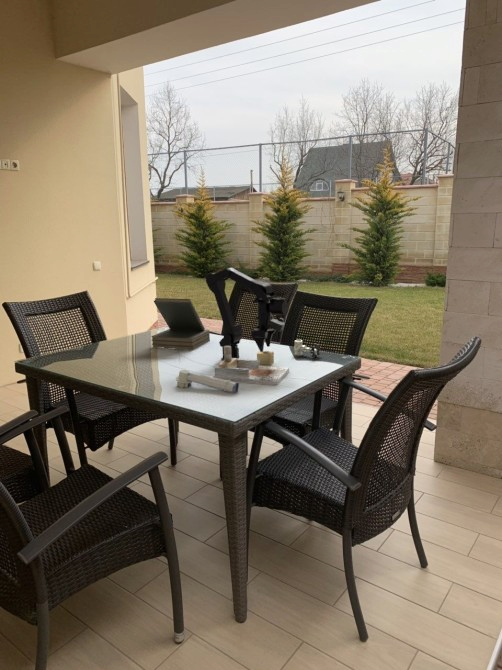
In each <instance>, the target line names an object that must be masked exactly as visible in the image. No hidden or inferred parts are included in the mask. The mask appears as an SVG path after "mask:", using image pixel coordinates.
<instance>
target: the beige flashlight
mask: <svg viewBox="0 0 502 670" xmlns="http://www.w3.org/2000/svg"><path fill="white" fill-rule="evenodd" d="M176 381H177V382H176V383H177V384H176V386H178V387H179V388H181V387H183V388H186V387H187V388H191V387H192V383H195V384H200V385H202V386H206V387H209V388H214V389H217V390H220V391H224V392H225V393H230V392H231V394H236V393H237V392H238V391H239V388H240V383H239V382H233V381H230V380H223V379H218V378H213V376H207V375H202V374H198V373H192V372H190V370H187V369H181V370H180V371H179V373H178V376H177V377H176Z"/></svg>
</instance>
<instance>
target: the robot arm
mask: <svg viewBox="0 0 502 670" xmlns="http://www.w3.org/2000/svg"><path fill="white" fill-rule="evenodd" d="M229 279H230V280H232V281H234V282H236V283H238V284H239V285H241V286H243V287H245V288H247V289H248V290H249V291H250V292H251V293H252V295H254V296H255V298H254V299H253V300H252V303H254V304H256V303H257V307H256V309H257V315H256V316H255V319H256V320H257V325H256V328H254V329H253V330H252V331H250V337H251V338H252V339H253V340H254V342H255V344H256V346H257V347H258V350H259V352H263V351H264V348H265V347H264V345H266V347H270V346H271V343H272V342H271V341H272V338H273V334H274V333H276V332H278V333H281V332H283V330H284V327H285V325H286V324H285V323H286V322H285V320H284V318H283V317H280V318H278V319H275V318H274V316H273V315H278V316H286V315H288V313H289V303H288V302H287V298H279V297H278V296H277V294H276V292H275V290H274V289H273V285H272V284H270V283H269V282H265V281H261V280H256V279H254V278H252V277H250V276H248V275H247V274H245V273H242V272H240V271H239V270H236V269H235V268H234V267H227V268H224V269H222V270H221V271H217V272H213V273H208V274H207V275H206V277H205V283H206V285H207V287H208V289H209V291H211V293H213V295H214V298H215V301H216V304H217V307H218V311H219V314H220V317H221V321H222V323H223V329H222V335H223V337H222V338H221V339H220V341H219V342H218V343H219V346H220V347H221V348H222V357H221V360H222V361H224V346H231V355H232V358H237V359H239V358H240V348H239V347H238V345H239V344H240V343H241V340H242V339H243V337H244V336H243V333H244V331H243V329H242V325H241V324H240V323H238V324H237V322H236V321H235V320H234V316H233V313H232V309H231V306H230V304H229V300H228V297H227V294H226V281H227V280H229Z"/></svg>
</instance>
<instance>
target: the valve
mask: <svg viewBox="0 0 502 670" xmlns="http://www.w3.org/2000/svg"><path fill="white" fill-rule="evenodd" d="M313 345H314V346H313ZM313 345H312V346H311V347H308V346H307V345H303V340H302V339H296V340H294V346H293V350H294V356H298V357H299V356H302V355H303V353H306V352H310V354H312V355H311V357H312V358H313V359H318V356H320V354H321V353H320V351H321V348H320V344H318V343H314V344H313Z"/></svg>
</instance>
